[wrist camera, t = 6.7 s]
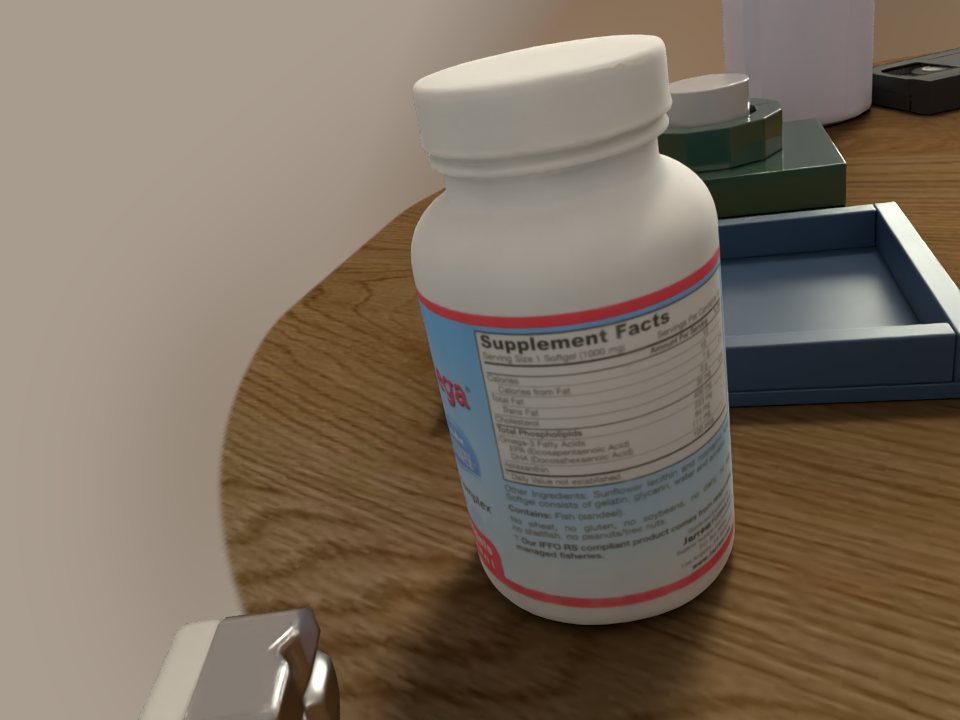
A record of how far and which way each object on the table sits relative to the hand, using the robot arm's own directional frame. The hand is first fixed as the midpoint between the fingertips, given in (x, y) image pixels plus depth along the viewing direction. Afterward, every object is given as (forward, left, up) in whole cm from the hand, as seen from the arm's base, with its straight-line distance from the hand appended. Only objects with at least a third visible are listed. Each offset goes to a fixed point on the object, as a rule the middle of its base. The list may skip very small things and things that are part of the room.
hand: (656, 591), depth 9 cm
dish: (0, +20, -6) cm, 21 cm away
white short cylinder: (+1, +37, -2) cm, 37 cm away
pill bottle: (-2, +8, -6) cm, 10 cm away
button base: (+1, +37, -6) cm, 37 cm away
